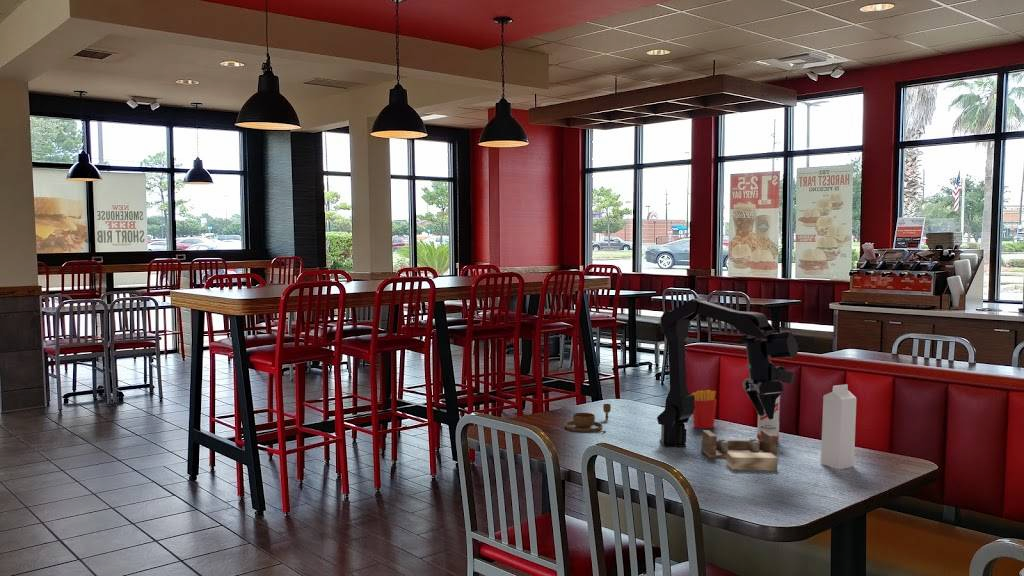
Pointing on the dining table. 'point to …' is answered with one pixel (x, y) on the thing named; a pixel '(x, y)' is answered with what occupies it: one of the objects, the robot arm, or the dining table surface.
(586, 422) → the place setting
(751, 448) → the frame
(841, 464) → the milk
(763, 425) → the beer can
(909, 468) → the dining table surface
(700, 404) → the french fries
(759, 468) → the board
